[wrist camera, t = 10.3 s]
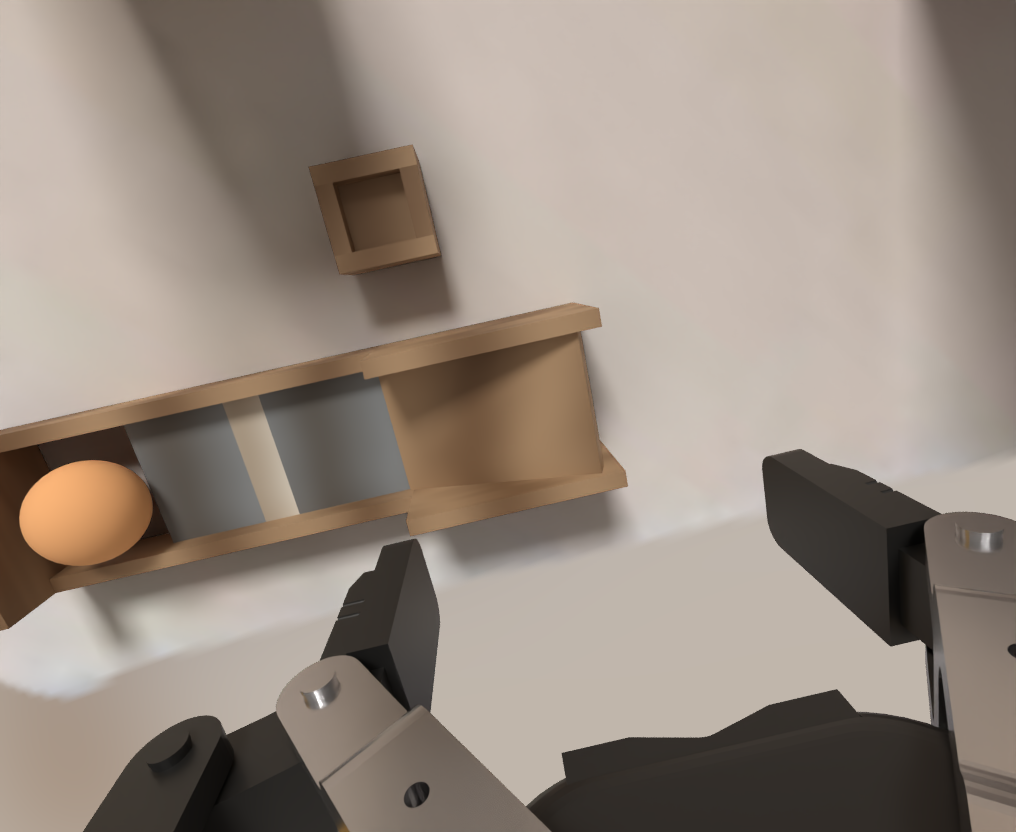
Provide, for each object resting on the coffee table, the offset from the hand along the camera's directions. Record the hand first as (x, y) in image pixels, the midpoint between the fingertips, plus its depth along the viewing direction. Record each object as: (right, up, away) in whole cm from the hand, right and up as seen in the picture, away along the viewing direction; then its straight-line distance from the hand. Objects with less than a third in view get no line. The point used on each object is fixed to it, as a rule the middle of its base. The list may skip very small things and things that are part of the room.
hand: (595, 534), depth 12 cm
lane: (-11, +2, +13) cm, 18 cm away
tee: (-7, +11, +11) cm, 17 cm away
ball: (-20, -1, +10) cm, 22 cm away
